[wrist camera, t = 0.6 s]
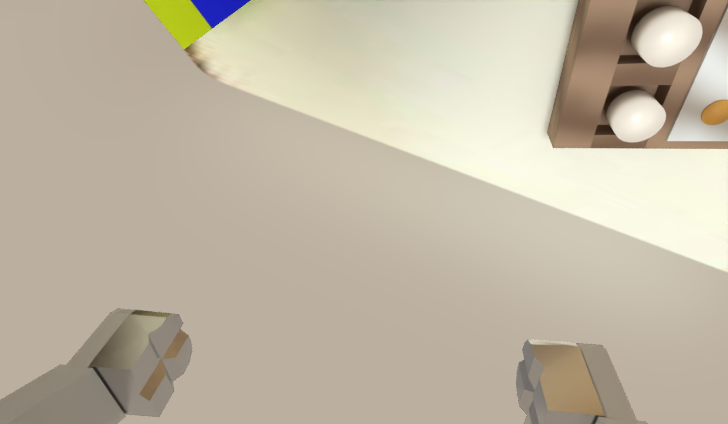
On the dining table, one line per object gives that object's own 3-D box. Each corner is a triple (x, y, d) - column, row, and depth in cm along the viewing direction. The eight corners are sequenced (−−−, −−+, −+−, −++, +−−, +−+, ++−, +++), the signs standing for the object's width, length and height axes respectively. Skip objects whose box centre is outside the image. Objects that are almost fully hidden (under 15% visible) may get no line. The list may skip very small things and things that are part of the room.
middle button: (640, 6, 33) (652, 15, 31) (696, 4, 32) (712, 13, 30) (624, 57, 35) (634, 68, 33) (675, 55, 35) (688, 66, 33)
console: (610, -136, 30) (627, -135, 27) (891, -163, 27) (939, -166, 24) (547, 132, 44) (554, 150, 41) (726, 133, 41) (745, 151, 38)
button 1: (613, 89, 37) (622, 102, 35) (661, 89, 36) (673, 101, 35) (600, 129, 40) (608, 142, 38) (645, 128, 39) (655, 142, 37)
